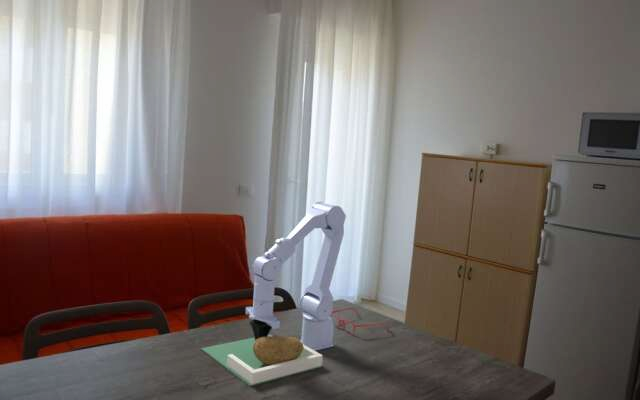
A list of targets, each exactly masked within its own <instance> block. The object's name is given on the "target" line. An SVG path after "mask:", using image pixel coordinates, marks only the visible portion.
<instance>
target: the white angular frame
mask: <svg viewBox="0 0 640 400" xmlns="http://www.w3.org/2000/svg"><path fill="white" fill-rule="evenodd" d="M303 347H304V349H303V351H302V353H301V355H300V357H302V358H299V359H295V360H291V361H287V362H283V363H279V364H275V365H271V366H267V367H263V368H259V369H255V370H254V369H253V368H252V367H250V366H249V365H247V364H246V363H244V362H243V361H242V360H240V359H239V358H237V357H236V356H234V355H233V354H229V355H227V366H228V367H229V368H230V369H232V370H233V371H234V372H236V373H237V374H238V375H240V376H241V377H242V378H244V379H245V380H247V381H248V382H249V383H251V384H255V383H259V382H263V381H267V380H270V379H274V378H278V377H281V376H285V375H289V374H293V373H296V372H300V371H304V370H307V369H311V368H315V367H319V366H322V365H323V356H324V355H323V354H321V353H319V352H318V351H317V350H316V351H314V350H312V349H310V348H309V347H307V346H305V345H303Z"/></svg>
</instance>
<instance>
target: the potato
mask: <svg viewBox="0 0 640 400" xmlns="http://www.w3.org/2000/svg"><path fill="white" fill-rule="evenodd" d="M300 340H301V339H299V338H297V337H293V336H278V335H276V336H274V335H272V337H260V338H258V339H257V340H256V341H255V343H254V346H253V352H254V354H255V356H256V358H257V359H258V360H259V361H260V362H261V363H263V364H265V365H268V366H271V365H275V364H279V363H283V362H287V361H291V360H295V359H297V358H298V357H299V356H300V355H301V353H302V351H303V349H304V347H303V344H302V343H301V341H300Z"/></svg>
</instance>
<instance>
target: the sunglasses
mask: <svg viewBox="0 0 640 400" xmlns="http://www.w3.org/2000/svg"><path fill="white" fill-rule="evenodd" d="M346 310H353V311H354V312H355V314H357V315H356V316H357V317H358V318H361V316H360V314H359V312H358V311H357V310H356V309H355V308H351V307H346V308H342V309H341V308H340V309H336V310H332V313H331V315H330V317H331V318H332V315H334V316H335V317H336V318H337V319H338V324H337V326H336V329H338V328H339V327H340V325H341V324H342V329H343V331H344V332H345V333H346V334H347V333H348V332H347V330H346V322H345V321H347V322H349V323H351V325H352V326H353V331H352V333H350V334H349V335H350V336H352V335H354V334H355V331H356V328H361V327H363V328H364V327H368V326H369V327H370V326H378V325H386V332H389V324H387V323H386V322H380V323H368V324H367V323H366V324H363V323H362V324H355V323H354V322H352V321H350V320H349V319H342V318H340V316H338V314H336V313H337V312H342V311H346Z"/></svg>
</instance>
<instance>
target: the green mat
mask: <svg viewBox="0 0 640 400" xmlns="http://www.w3.org/2000/svg"><path fill="white" fill-rule="evenodd" d="M272 336H273V335H272V334H270V333H269V334H268V336H267V337H272ZM254 343H255V337H249V338H245V339H240V340H235V341H231V342H225V343H220V344H216V345H211V346H206V347H201V348H200V349H201V351H202V352H204V353H205V354H206V355H208V356H209V357H210V358H211V359H213V360H214V361H216V362H217V364H219V365H221V366H222V367H224V368H225V369H227V370H228V371H229V372H230V373H232V374H233V375H234V376H236V378H238V379H239V380H241V381H242V382H244V383H245V384H246V385H247V386H249V387H254V386H257V385H260V384H263V383H268V382H272V381H275V380H278V379H283V378H286V377H290V376H293V375H297V374H301V373H304V372H308V371H312V370H316V369H320V368H322V367H324V364H322V366H319V367H315V368H311V369H307V370H304V371H300V372H296V373H293V374H289V375H285V376H281V377H278V378H274V379H270V380H267V381H263V382H259V383H255V384H251V383H249V382H248V381H247V380H245V379H244V378H242V377H241V376H240V375H238V374H237V373H236V372H234V371H233V370H232V369H230V368H229V367H228V366H227V355H229V354H233V355H234V356H236V357H237V358H239V359H240V360H242V361H243V362H244V363H246V364H247V365H249V366H250V367H252V368H253V369H254V370H255V369H259V368H263V367H267V366H268V365H265V364H263V363H261V362H260V361H259V360H258V359H257V358H256V356H255V354H254V352H253V346H254ZM299 358H302V357H300V356H299V357H298V358H297V359H299Z"/></svg>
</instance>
